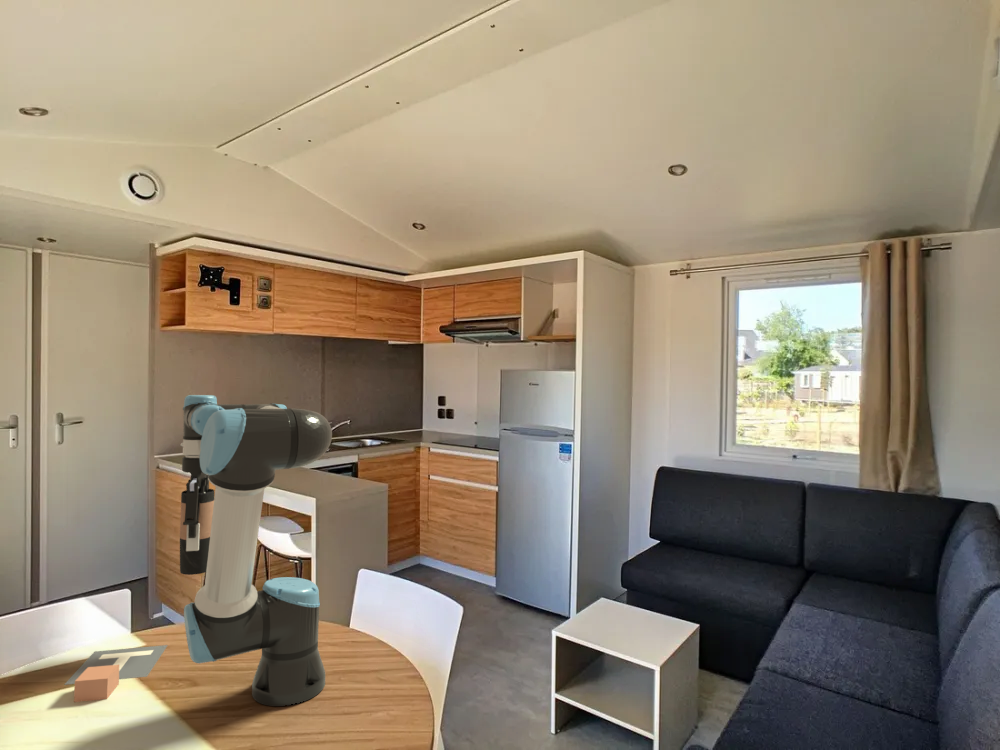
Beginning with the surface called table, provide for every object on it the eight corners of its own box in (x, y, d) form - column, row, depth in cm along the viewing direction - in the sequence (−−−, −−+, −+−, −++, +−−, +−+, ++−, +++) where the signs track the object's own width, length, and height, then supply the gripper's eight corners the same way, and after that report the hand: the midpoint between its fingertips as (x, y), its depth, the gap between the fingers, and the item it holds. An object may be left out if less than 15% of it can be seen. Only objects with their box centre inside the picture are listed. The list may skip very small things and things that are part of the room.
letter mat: (146, 679, 130) (147, 676, 130) (63, 687, 126) (64, 684, 126) (167, 647, 145) (167, 644, 145) (94, 653, 141) (94, 651, 141)
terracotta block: (106, 702, 121) (107, 678, 121) (73, 705, 119) (74, 681, 119) (118, 687, 126) (119, 664, 126) (87, 690, 125) (88, 667, 125)
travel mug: (187, 577, 142) (189, 495, 142) (173, 570, 146) (175, 491, 147) (218, 569, 148) (220, 491, 148) (203, 563, 153) (205, 487, 153)
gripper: (193, 451, 157) (190, 536, 156) (171, 461, 137) (168, 558, 136) (223, 450, 159) (221, 534, 158) (206, 460, 139) (203, 556, 138)
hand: (196, 545), depth 147 cm, fingers closed on travel mug, 8 cm apart
